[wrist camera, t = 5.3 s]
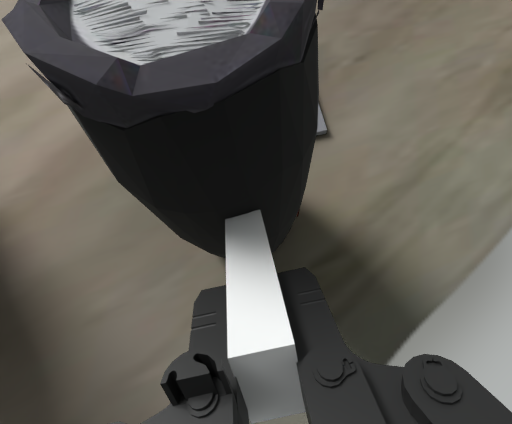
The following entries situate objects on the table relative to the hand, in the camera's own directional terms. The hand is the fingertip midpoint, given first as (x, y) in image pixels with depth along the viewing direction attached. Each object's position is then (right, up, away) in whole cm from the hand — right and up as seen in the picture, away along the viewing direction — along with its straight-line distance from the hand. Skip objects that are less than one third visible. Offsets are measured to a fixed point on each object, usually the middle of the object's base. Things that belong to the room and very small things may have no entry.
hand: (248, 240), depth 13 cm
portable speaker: (-1, +1, +13) cm, 13 cm away
